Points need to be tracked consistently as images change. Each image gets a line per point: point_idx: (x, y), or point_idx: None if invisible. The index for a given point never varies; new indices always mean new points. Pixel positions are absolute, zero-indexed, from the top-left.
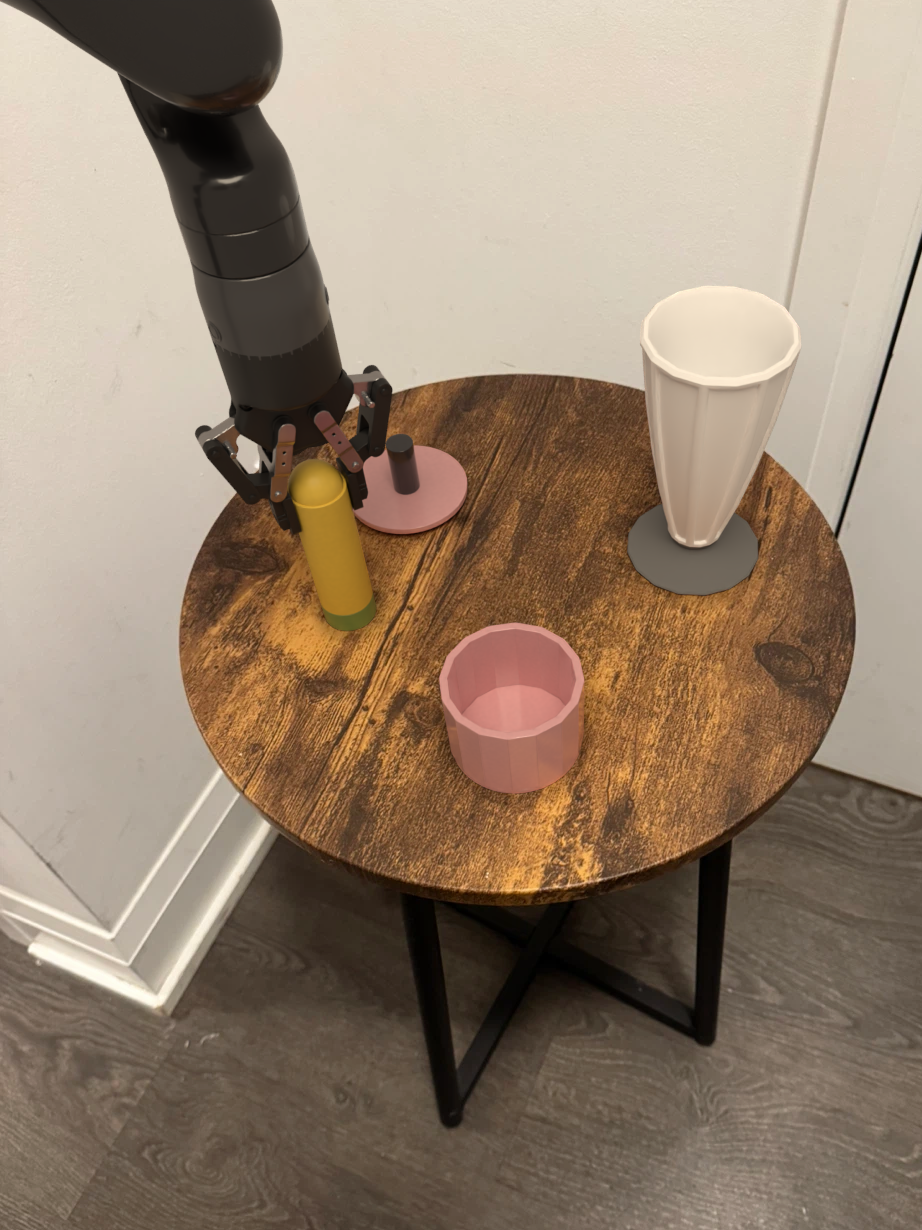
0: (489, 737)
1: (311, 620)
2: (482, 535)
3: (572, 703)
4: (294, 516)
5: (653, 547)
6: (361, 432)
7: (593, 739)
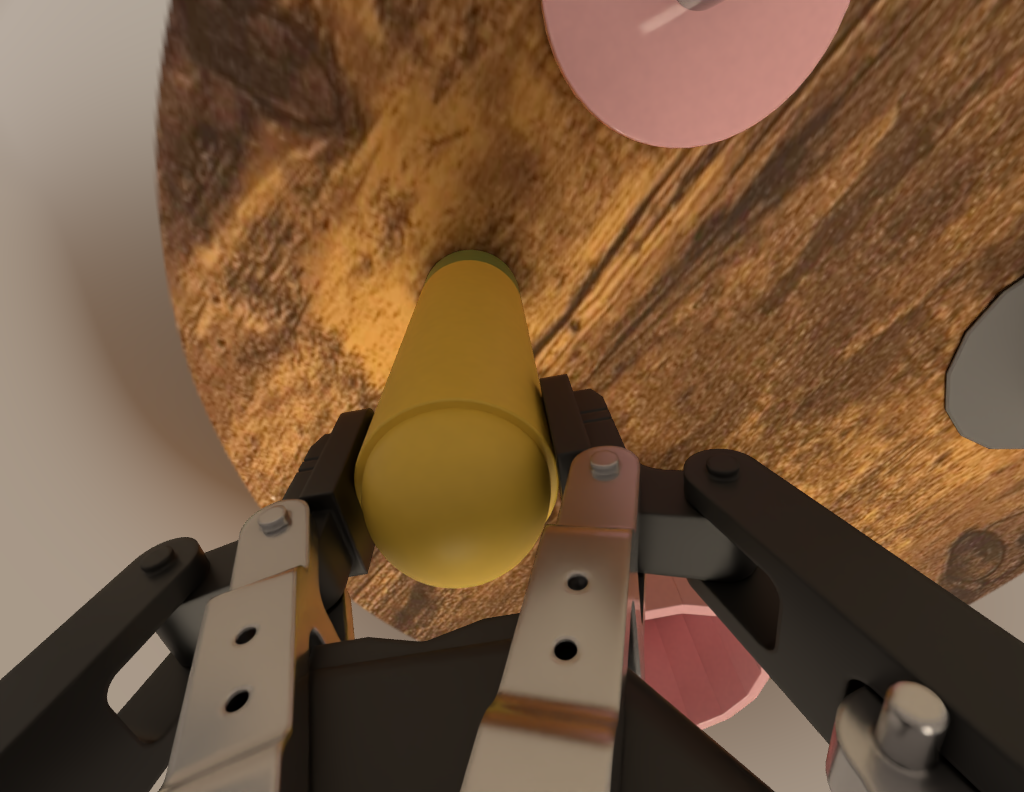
0: None
1: (397, 295)
2: (774, 191)
3: (721, 718)
4: None
5: (1010, 351)
6: (710, 528)
7: None
